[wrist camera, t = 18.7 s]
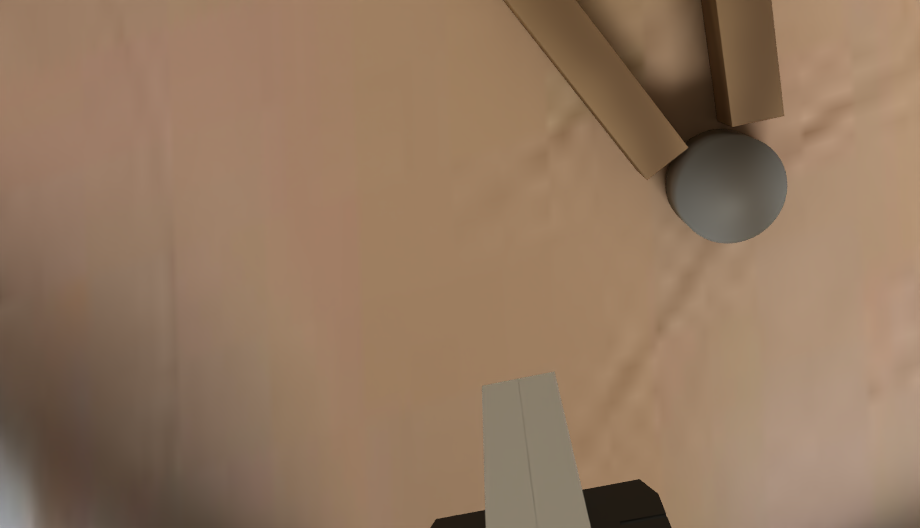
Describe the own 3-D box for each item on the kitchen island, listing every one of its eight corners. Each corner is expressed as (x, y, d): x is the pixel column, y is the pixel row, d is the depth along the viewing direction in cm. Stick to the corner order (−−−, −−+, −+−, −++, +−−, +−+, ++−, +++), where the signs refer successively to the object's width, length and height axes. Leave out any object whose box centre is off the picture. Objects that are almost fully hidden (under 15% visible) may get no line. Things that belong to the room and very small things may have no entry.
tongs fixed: (673, 240, 43) (685, 253, 41) (610, -170, 38) (619, -183, 35) (778, 218, 43) (797, 230, 40) (729, -199, 37) (747, -214, 35)
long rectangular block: (637, 170, 42) (647, 179, 40) (458, -57, 39) (458, -61, 37) (676, 140, 42) (688, 147, 39) (498, -92, 39) (500, -99, 36)
